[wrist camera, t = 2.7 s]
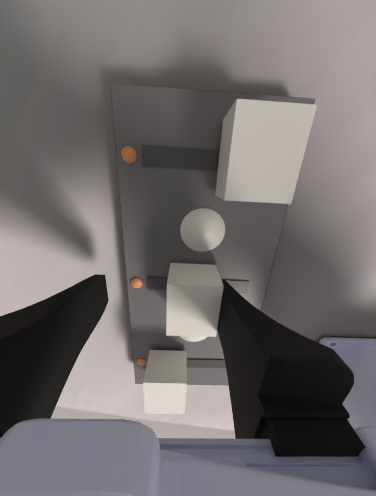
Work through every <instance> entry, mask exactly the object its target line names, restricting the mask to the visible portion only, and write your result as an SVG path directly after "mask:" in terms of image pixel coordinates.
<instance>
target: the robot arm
mask: <svg viewBox="0 0 376 496" xmlns="http://www.w3.org/2000/svg"><path fill="white" fill-rule="evenodd" d="M222 283H223V286H224V287H223V294H222V300H221V307H220V313H219V320H218V327H217V331H218V335H219V339H220V342H221V346H222V350H223V354H224V359H225V365H226V371H227V377H228V384H229V391H230V398H231V405H232V412H233V420H234V428H235V437H236V439H185V438H184V439H183V438H182V439H180V438H179V439H177V438H157V437H156V434H155V433H154V431H153V429H152V428H150V427H148V426H146V425H144V424H142V423H140V422H136V421H130V420H124V419H50V418H51V416H52V413H53V411H54V409H55V406H56V404H57V402H58V399H59V397H60V394H61V392H62V390H63V388H64V385H65V383H66V381H67V379H68V376H69V374H70V372H71V370H72V368H73V366H74V364H75V362H76V360H77V358H78V355H79V354H80V352H81V350H82V348H83V346H84V345H85V343H86V341H87V340H88V338H89V336H90V335H91V333H92V332H93V330H94V328H95V327H96V325H97V323H98V322H99V320H100V318H101V316H102V315H103V312H104V310H105V308H106V306H107V303H108V294H107V286H106V279H105V275H93V276H91V277H89V278H87V279H85V280H83V281H81V282H79V283H77V284H75V285H73V286H72V287H70V288H68V289H66V290H64V291H62V292H60V293H58V294H56V295H53V296H51V297H49V298H47V299H45V300H43V301H40V302H38V303H36V304H33V305H31V306H28V307H26V308H23V309H21V310H18V311H15V312H12V313H9V314H6V315H3V316H0V496H376V339H365V338H329V337H325V338H322V339H321V340H320V341H319V343H318V342H315V341H313V340H310V339H308V338H306V337H304V336H302V335H300V334H298V333H296V332H294V331H292V330H290V329H288V328H286V327H285V326H283V325H281V324H280V323H278V322H276V321H275V320H273V319H271V318H270V317H268V316H267V315H265V314H264V313H262V312H261V311H260V310H258V309H257V308H256V307H254V306H253V305H252V304H251V303H249V302H248V301H247V300H246V299H245V298H244V297H242V296H241V295H240V294H239V293H238V292H237V291H236V290H235V289H234V288H233V287H232V286H231V285H230V284H229V283H228V282H227V281H226V280H222Z"/></svg>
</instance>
